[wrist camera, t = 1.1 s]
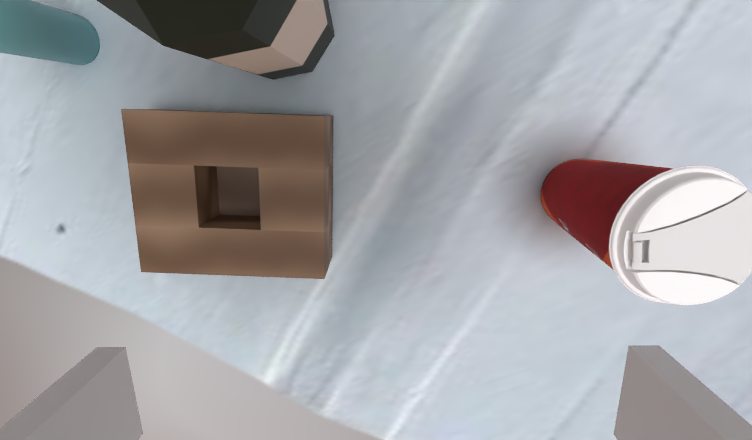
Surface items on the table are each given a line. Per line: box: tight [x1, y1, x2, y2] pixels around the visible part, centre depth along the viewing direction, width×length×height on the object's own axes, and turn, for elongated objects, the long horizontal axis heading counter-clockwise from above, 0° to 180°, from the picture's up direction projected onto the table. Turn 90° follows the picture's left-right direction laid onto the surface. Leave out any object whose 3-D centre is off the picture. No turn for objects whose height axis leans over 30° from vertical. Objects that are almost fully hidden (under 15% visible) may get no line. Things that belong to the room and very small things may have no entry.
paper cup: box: [541, 159, 752, 305], centre depth 27 cm, size 8×8×14 cm
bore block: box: [121, 109, 333, 279], centre depth 32 cm, size 12×14×5 cm
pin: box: [0, 0, 100, 65], centre depth 25 cm, size 4×4×13 cm
